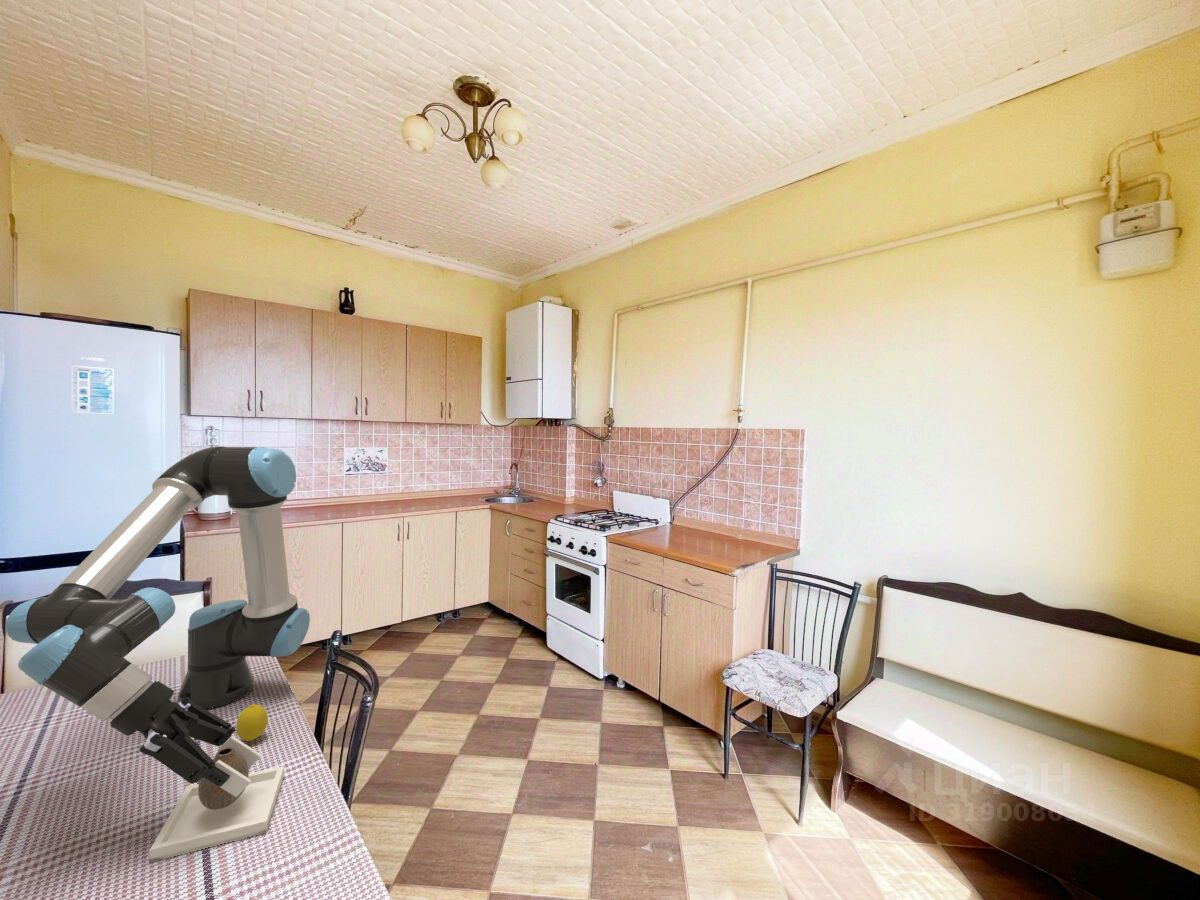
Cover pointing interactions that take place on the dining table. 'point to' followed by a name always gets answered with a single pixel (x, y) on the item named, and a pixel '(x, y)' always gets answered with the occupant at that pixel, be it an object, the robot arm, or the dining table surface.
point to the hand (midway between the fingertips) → (249, 774)
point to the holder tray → (218, 818)
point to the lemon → (251, 722)
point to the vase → (214, 794)
